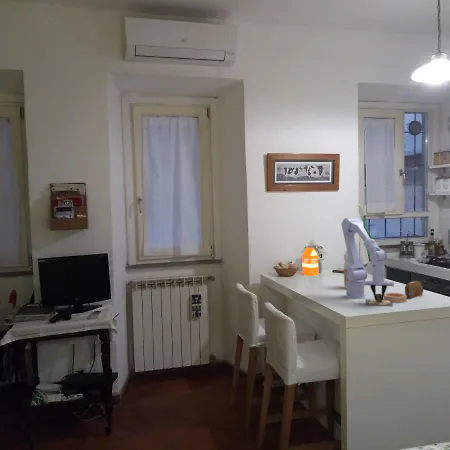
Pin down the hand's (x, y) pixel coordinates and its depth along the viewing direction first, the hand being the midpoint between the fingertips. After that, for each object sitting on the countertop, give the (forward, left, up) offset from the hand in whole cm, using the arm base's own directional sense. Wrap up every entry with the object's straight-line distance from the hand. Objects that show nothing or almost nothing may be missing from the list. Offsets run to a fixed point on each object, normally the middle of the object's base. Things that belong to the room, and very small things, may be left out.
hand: (378, 299), depth 208 cm
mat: (0, 0, -2) cm, 2 cm away
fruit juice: (-15, +36, -2) cm, 39 cm away
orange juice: (-47, +80, -2) cm, 93 cm away
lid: (0, 0, -2) cm, 2 cm away
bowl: (+8, +8, -2) cm, 11 cm away
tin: (+18, +19, -2) cm, 26 cm away
